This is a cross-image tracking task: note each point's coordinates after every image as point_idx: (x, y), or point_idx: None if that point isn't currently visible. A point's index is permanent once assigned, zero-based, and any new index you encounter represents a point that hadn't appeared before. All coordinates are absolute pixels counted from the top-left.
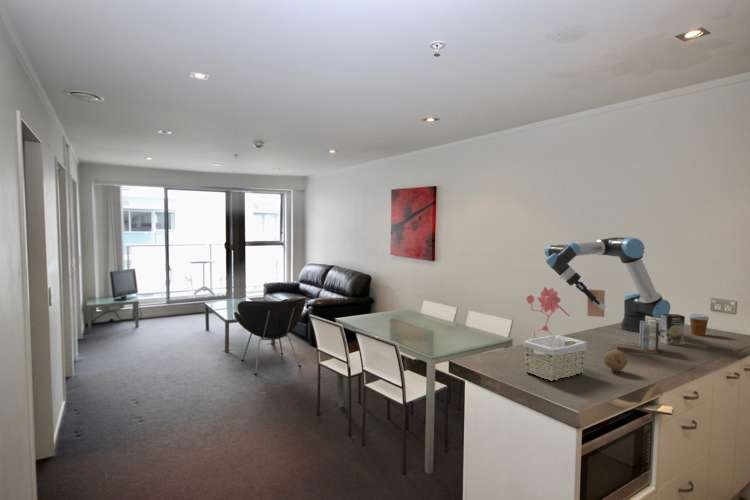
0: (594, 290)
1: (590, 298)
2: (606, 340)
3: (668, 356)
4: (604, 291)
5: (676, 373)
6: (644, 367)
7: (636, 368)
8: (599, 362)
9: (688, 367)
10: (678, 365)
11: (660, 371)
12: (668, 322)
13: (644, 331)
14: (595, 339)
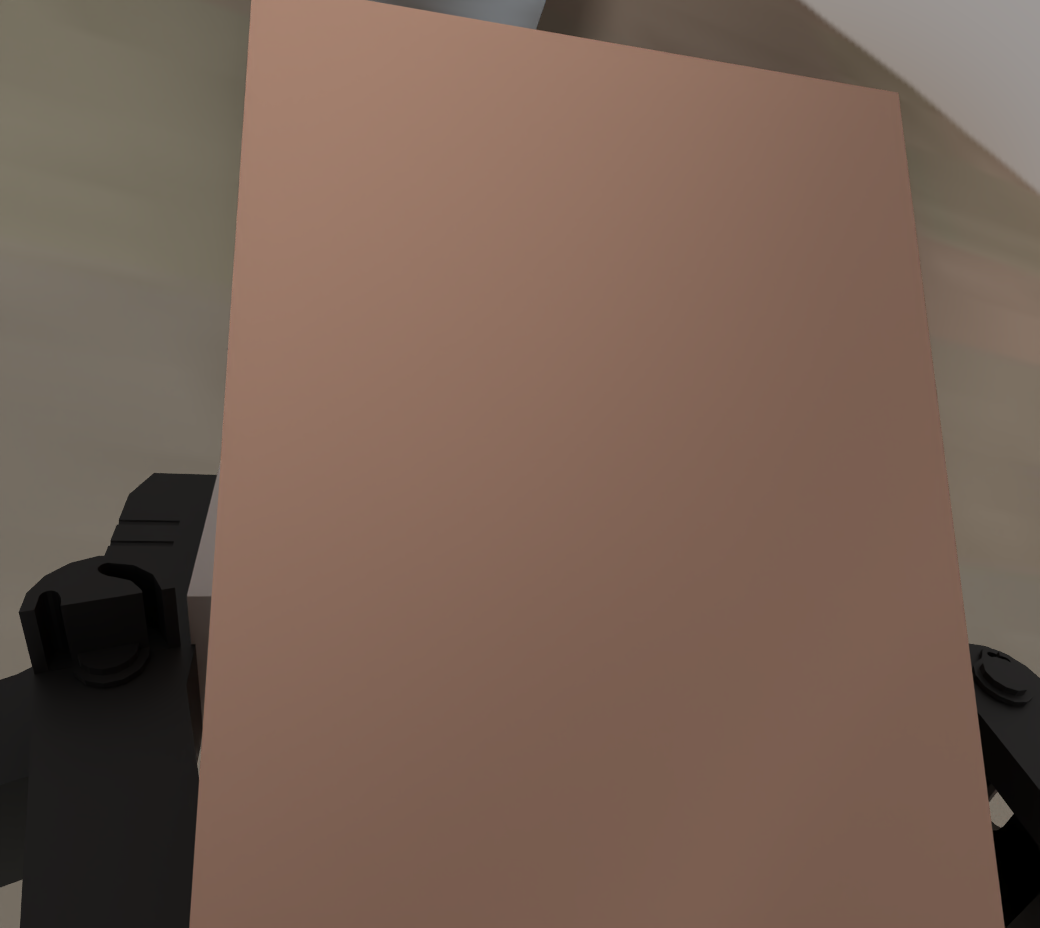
0: (808, 711)
1: (1005, 860)
2: (40, 450)
3: (545, 26)
4: (885, 114)
5: (980, 146)
6: (951, 311)
7: (1003, 374)
8: (994, 632)
9: (802, 13)
10: (783, 58)
11: (989, 232)
12: None
13: (534, 20)
14: (24, 586)
